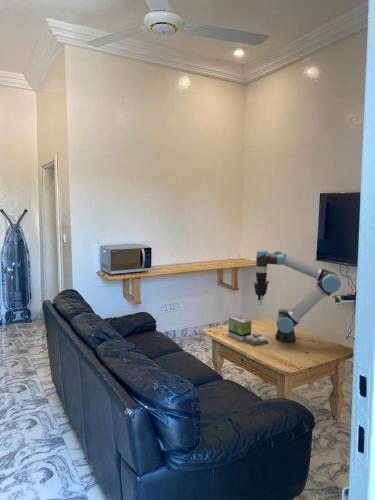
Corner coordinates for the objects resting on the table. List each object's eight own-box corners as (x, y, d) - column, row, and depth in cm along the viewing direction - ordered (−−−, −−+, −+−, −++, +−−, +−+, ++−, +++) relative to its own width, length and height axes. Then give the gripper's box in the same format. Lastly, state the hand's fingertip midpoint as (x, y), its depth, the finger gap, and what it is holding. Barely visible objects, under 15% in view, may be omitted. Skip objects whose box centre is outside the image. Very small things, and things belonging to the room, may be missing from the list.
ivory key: (261, 341, 283) (261, 336, 282) (265, 343, 279) (265, 338, 279) (257, 342, 281) (257, 337, 280) (261, 344, 277) (261, 339, 277)
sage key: (250, 340, 285) (250, 335, 284) (254, 342, 281) (254, 337, 280) (245, 341, 282) (245, 336, 282) (249, 343, 279) (249, 338, 278)
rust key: (255, 342, 280) (255, 337, 279) (259, 344, 276) (259, 339, 276) (250, 343, 278) (250, 338, 277) (254, 345, 274) (254, 340, 274)
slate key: (256, 337, 288) (256, 332, 287) (260, 339, 284) (260, 334, 283) (252, 338, 285) (252, 333, 285) (256, 340, 282) (256, 335, 281)
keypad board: (257, 338, 289) (257, 336, 289) (268, 343, 279) (268, 340, 279) (243, 341, 283) (243, 338, 282) (254, 346, 272) (254, 344, 272)
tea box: (227, 336, 294) (228, 317, 293) (237, 333, 300) (237, 315, 299) (241, 341, 282) (242, 322, 281) (251, 339, 288) (252, 319, 287)
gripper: (264, 270, 281) (263, 302, 284) (250, 271, 275) (249, 304, 277) (272, 272, 275) (270, 304, 277) (257, 273, 268) (256, 306, 271)
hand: (260, 304), depth 277 cm, fingers closed
